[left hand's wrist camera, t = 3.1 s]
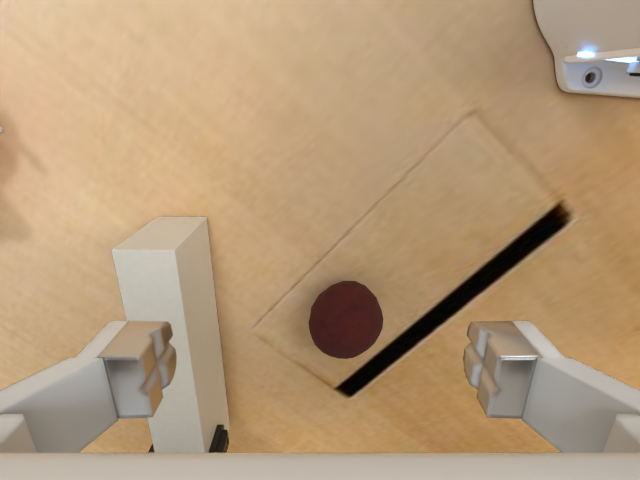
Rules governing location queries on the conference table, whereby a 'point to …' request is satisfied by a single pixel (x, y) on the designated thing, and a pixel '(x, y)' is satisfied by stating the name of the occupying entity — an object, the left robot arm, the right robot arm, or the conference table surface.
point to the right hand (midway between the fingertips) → (196, 430)
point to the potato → (345, 320)
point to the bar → (178, 326)
